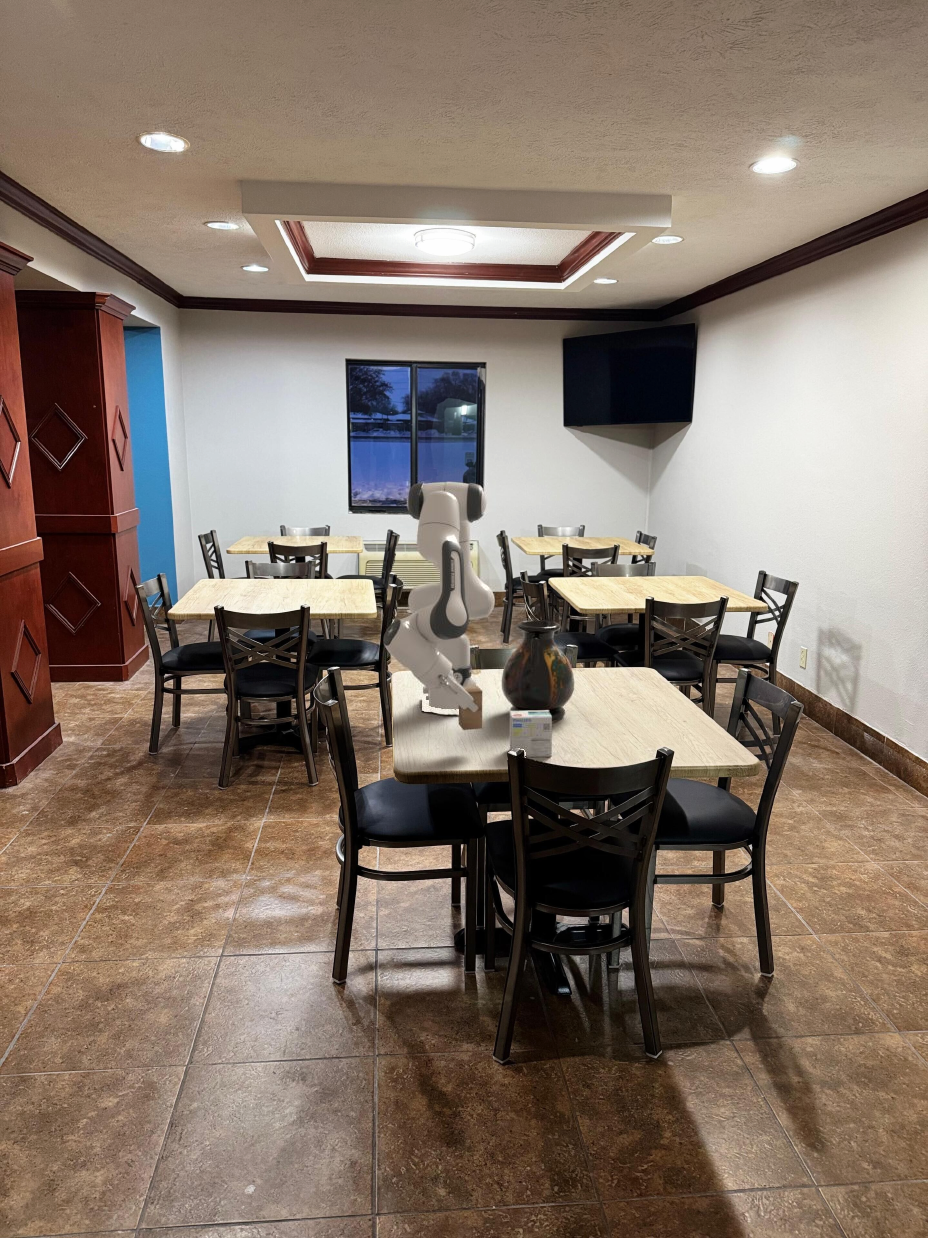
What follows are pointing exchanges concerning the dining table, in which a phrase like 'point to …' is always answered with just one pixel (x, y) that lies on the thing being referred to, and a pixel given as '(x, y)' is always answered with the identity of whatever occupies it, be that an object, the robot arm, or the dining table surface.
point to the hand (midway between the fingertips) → (472, 705)
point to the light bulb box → (531, 732)
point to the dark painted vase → (538, 671)
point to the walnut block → (469, 717)
